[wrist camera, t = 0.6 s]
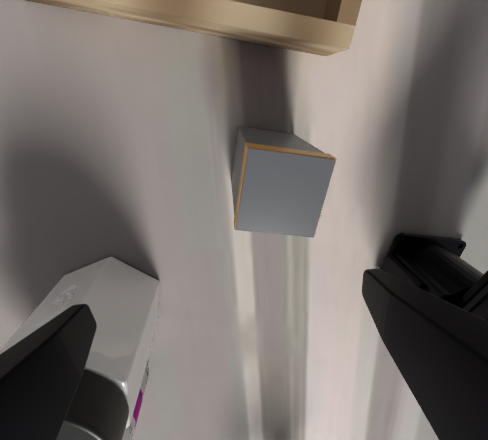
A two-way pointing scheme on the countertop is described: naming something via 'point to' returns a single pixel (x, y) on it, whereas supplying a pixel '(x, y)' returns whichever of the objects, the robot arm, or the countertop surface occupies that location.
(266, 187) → the block
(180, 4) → the oak box
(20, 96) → the countertop surface
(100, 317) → the jar
